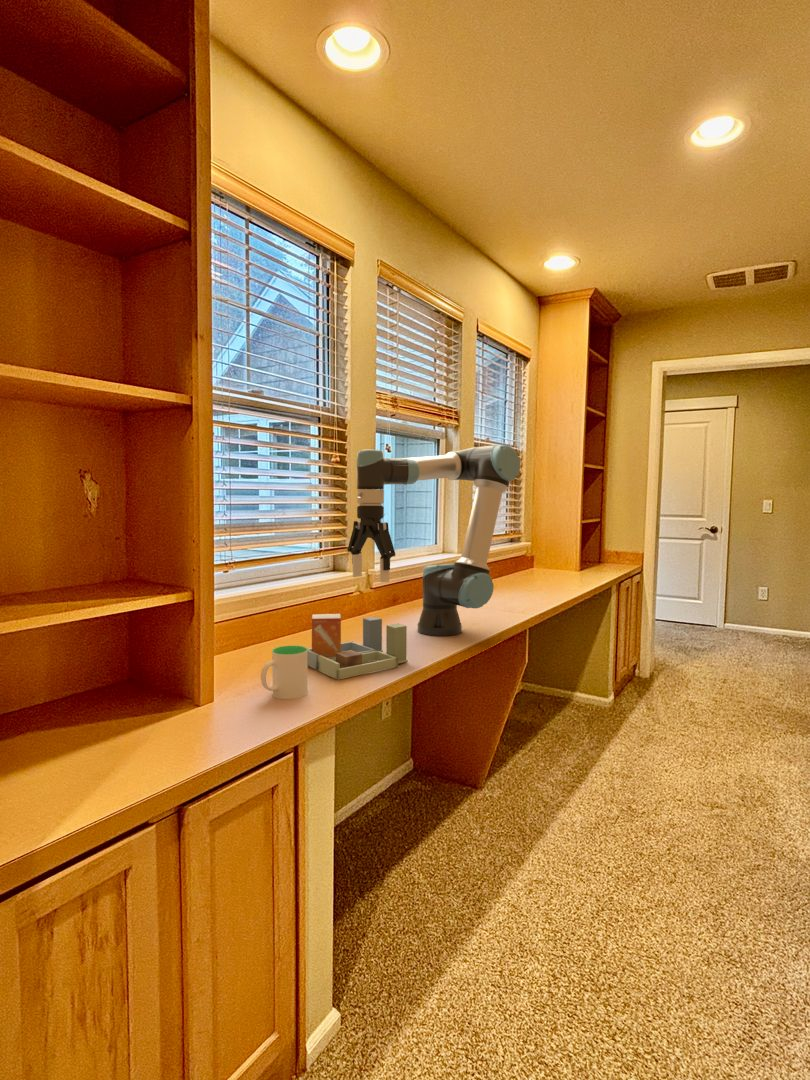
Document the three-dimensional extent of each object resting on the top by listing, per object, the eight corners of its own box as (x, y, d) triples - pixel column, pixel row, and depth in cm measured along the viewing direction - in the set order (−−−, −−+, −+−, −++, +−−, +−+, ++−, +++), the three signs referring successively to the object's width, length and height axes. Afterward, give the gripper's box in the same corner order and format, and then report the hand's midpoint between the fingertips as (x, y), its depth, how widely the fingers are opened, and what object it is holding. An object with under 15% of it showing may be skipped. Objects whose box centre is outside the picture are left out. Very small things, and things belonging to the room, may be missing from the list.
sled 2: (392, 656, 172) (392, 621, 171) (412, 663, 164) (413, 627, 163) (318, 670, 157) (318, 633, 157) (336, 679, 150) (336, 640, 149)
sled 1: (366, 646, 183) (366, 614, 182) (390, 655, 173) (390, 621, 172) (295, 659, 168) (294, 624, 167) (316, 669, 158) (316, 632, 157)
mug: (276, 706, 131) (275, 660, 131) (252, 699, 136) (251, 654, 135) (314, 692, 141) (314, 648, 140) (290, 685, 146) (290, 643, 145)
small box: (311, 665, 163) (311, 618, 162) (312, 659, 170) (311, 613, 169) (341, 664, 164) (341, 617, 163) (340, 658, 171) (340, 613, 170)
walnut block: (352, 668, 161) (351, 650, 161) (362, 672, 157) (362, 654, 157) (335, 671, 158) (335, 653, 158) (345, 676, 154) (345, 657, 154)
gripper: (335, 504, 177) (336, 575, 178) (385, 505, 157) (385, 585, 159) (356, 504, 181) (357, 573, 183) (408, 505, 162) (408, 582, 163)
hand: (370, 579), depth 171 cm, fingers open, 13 cm apart
